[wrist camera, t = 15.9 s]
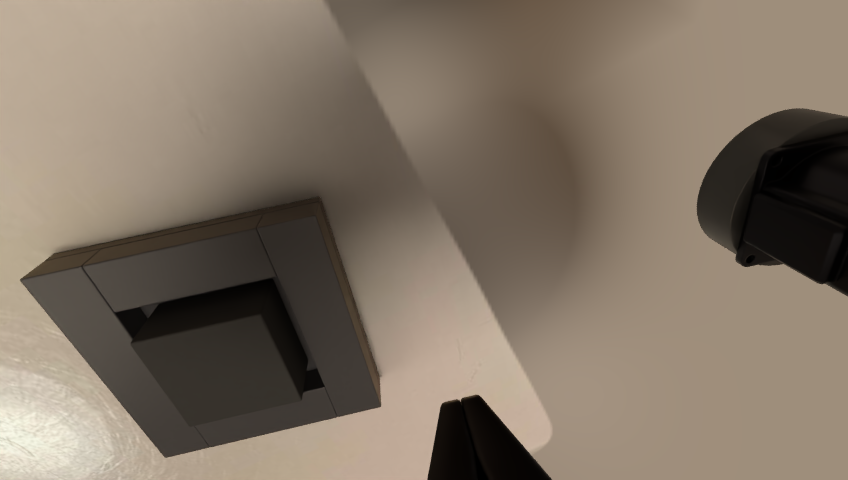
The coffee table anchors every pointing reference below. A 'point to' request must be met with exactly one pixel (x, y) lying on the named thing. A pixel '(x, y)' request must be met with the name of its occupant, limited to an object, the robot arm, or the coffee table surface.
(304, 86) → the coffee table surface
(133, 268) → the base pad
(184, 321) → the black angular block
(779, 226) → the robot arm
